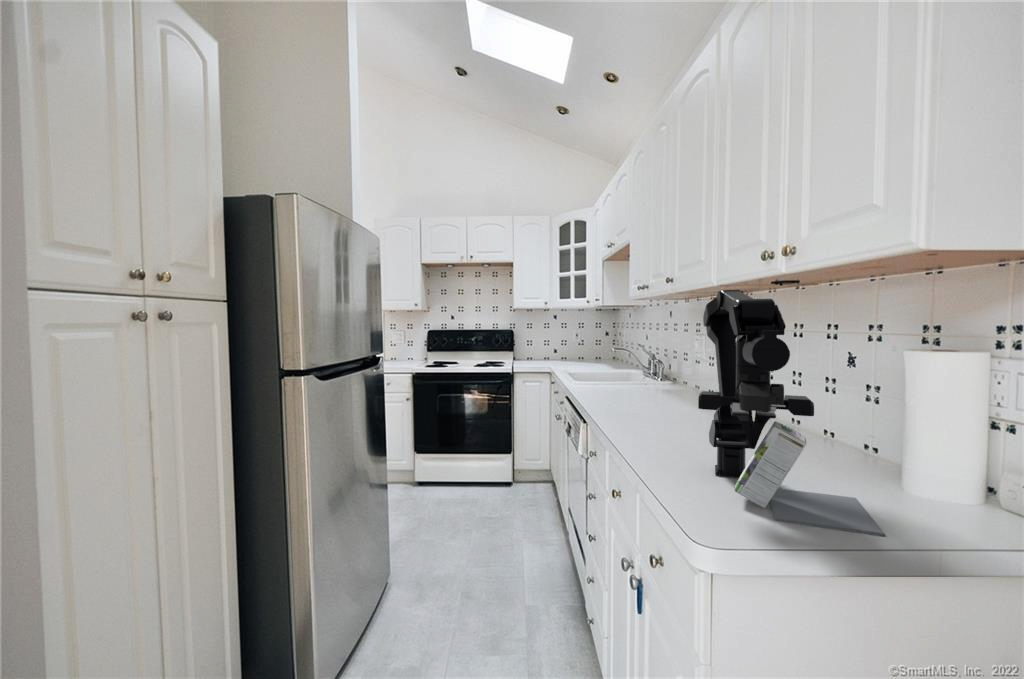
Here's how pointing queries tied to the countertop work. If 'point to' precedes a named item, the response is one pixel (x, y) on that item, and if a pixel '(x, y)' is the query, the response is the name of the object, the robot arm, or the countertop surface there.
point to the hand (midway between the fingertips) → (752, 448)
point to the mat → (823, 511)
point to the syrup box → (770, 464)
